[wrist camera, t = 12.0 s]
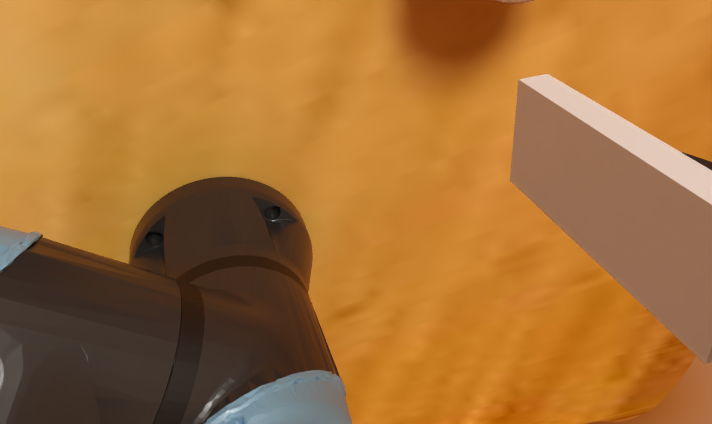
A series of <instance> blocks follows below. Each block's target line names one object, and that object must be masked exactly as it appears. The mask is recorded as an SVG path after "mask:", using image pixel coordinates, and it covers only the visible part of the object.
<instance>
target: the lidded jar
mask: <svg viewBox="0 0 712 424" xmlns="http://www.w3.org/2000/svg"><path fill="white" fill-rule="evenodd" d="M494 1H497V2H500V3H508V4H516V3H525V2H529V1H533V0H494Z"/></svg>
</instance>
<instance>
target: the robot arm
mask: <svg viewBox="0 0 712 424" xmlns="http://www.w3.org/2000/svg"><path fill="white" fill-rule="evenodd" d="M510 181H511V182H512V183H513V184H514V185H515V186H517V187H518V188H519V189H520V190H521V191H522V192H523V193H524V194H525V195H526V196H527V197H528V198H529V199H530V200H531V201H532V202H534V203H535V204H536V205H537V206H538V207H539V208H540V209H541V210H542V211H543V212H544V213H545V214H546V215H547V216H548V217H549V218H551V219H552V220H553V221H554V222H555V223H556V224H557V225H558V226H559V227H560V228H561V229H562V230H563V231H564V232H565V233H566V234H567V235H569V236H570V237H571V238H572V239H573V240H574V241H575V242H576V243H577V244H578V245H579V246H580V247H581V248H582V249H583V250H584V251H586V252H587V253H588V254H589V255H590V256H591V257H592V258H593V259H594V260H595V261H596V262H597V263H598V264H599V265H600V266H601V267H603V268H604V269H605V270H606V271H607V272H608V273H609V274H610V275H611V276H612V277H613V278H614V279H615V280H616V281H617V282H618V283H620V284H621V285H622V286H623V287H624V288H625V289H626V290H627V291H628V292H629V293H630V294H631V295H632V296H633V297H634V298H635V299H637V300H638V301H639V302H640V303H641V304H642V305H643V306H644V307H645V308H646V309H647V310H648V311H649V312H650V313H651V314H652V315H654V316H655V317H656V318H657V319H658V320H659V321H660V322H661V323H662V324H663V325H664V326H665V327H666V328H667V329H668V330H669V331H671V332H672V333H673V334H674V335H675V336H676V337H677V338H678V339H679V340H680V341H681V342H682V343H683V344H684V345H685V346H686V347H688V348H689V349H690V350H691V351H692V352H693V353H694V354H695V355H696V356H697V357H698V358H699V359H700V360H702V362H703V363H705V364H707V363H710V362H712V162H710V161H707V160H704V159H701V158H698V157H695V156H692V155H689V154H686V153H683V152H682V153H681V152H679V151H678V150H676V149H674V148H673V147H671V146H669V145H668V144H666V143H664V142H662V141H661V140H659V139H657V138H656V137H654V136H652V135H651V134H649V133H647V132H645V131H644V130H642V129H640V128H639V127H637V126H635V125H634V124H632V123H630V122H628V121H627V120H625V119H623V118H622V117H620V116H618V115H617V114H615V113H613V112H611V111H610V110H608V109H606V108H605V107H603V106H601V105H600V104H598V103H596V102H594V101H593V100H591V99H589V98H588V97H586V96H584V95H583V94H581V93H579V92H577V91H576V90H574V89H572V88H571V87H569V86H567V85H566V84H564V83H562V82H560V81H559V80H557V79H555V78H554V77H552V76H550V75H549V74H544V75H539V76H534V77H529V78H523V79H519V80H518V92H517V104H516V116H515V128H514V140H513V151H512V163H511V175H510ZM42 237H43V235H42V234H40V233H38V232H31V233H25V232H21V231H17V230H13V229H9V228H5V227H1V226H0V424H352V421H351V417H350V414H349V410H348V407H347V403H346V399H345V396H346V392H345V386H344V384H343V382H342V380H341V378H340V376H339V373H338V371H337V368H336V366H335V363H334V360H333V358H332V355H331V352H330V350H329V347H328V345H327V342H326V339H325V337H324V334H323V332H322V329H321V326H320V324H319V321H318V319H317V316H316V313H315V311H314V308H313V306H312V303H311V301H310V298H309V295H308V290H309V283H310V275H311V268H312V245H311V240H310V237H309V234H308V231H307V229H306V226H305V224H304V221H303V219H302V217H301V215H300V213H299V212H298V210H297V209H296V207H295V206H294V205H293V204H292V203H291V202H290V201H289V200H288V199H287V198H286V197H285V196H284V195H282V194H281V193H280V192H278V191H277V190H275V189H273V188H271V187H269V186H267V185H265V184H262V183H260V182H257V181H253V180H249V179H244V178H237V177H216V178H208V179H203V180H199V181H195V182H192V183H189V184H186V185H184V186H182V187H179V188H177V189H175V190H173V191H172V192H170V193H168V194H167V195H165V196H164V197H162V198H161V199H160V200H158V201H157V202H156V203H155V204H154V205H153V206H152V207H151V208H150V209H149V210H148V211H147V212H146V213H145V215H144V216H143V217H142V219H141V220H140V222H139V224H138V225H137V228H136V230H135V232H134V235H133V238H132V241H131V246H130V262H129V264H126V263H123V262H120V261H117V260H113V259H110V258H107V257H103V256H100V255H97V254H94V253H90V252H87V251H84V250H81V249H77V248H74V247H71V246H68V245H64V244H61V243H58V242H55V241H52V240H49V239H46V238H42Z"/></svg>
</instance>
